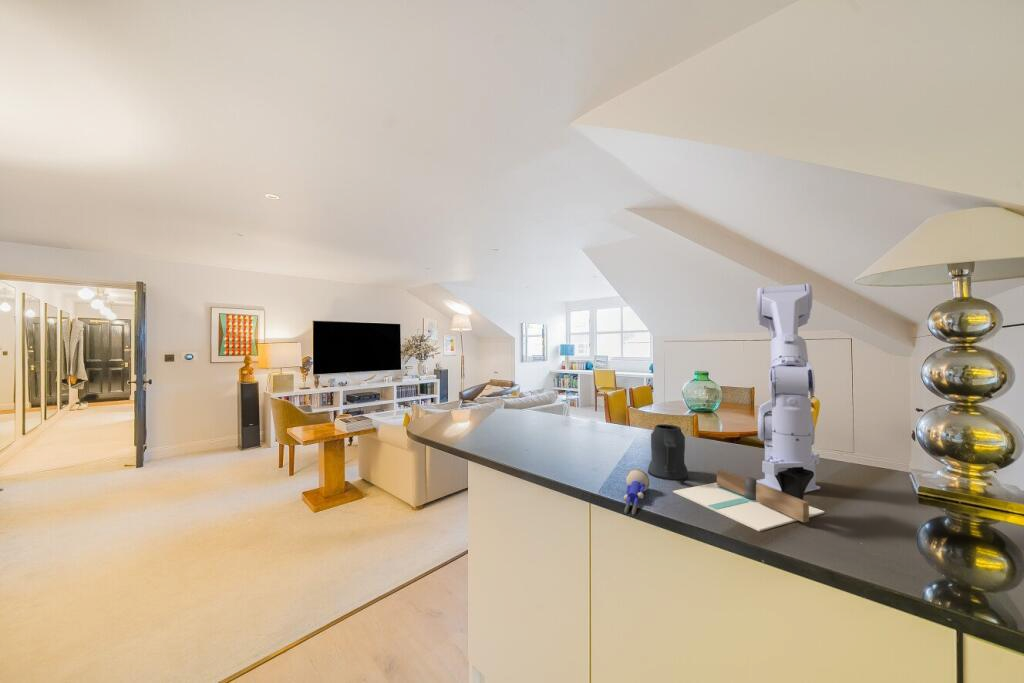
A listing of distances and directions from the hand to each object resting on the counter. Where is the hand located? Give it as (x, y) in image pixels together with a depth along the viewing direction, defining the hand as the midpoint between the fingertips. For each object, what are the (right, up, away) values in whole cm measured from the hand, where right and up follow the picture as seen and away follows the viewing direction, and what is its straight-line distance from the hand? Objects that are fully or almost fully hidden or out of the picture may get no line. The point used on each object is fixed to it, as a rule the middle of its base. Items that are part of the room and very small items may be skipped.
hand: (792, 508), depth 67 cm
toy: (-26, -2, +7) cm, 27 cm away
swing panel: (-2, -1, +1) cm, 2 cm away
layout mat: (-5, -1, +6) cm, 8 cm away
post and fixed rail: (-4, -1, +10) cm, 11 cm away
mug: (-13, -2, +21) cm, 25 cm away
